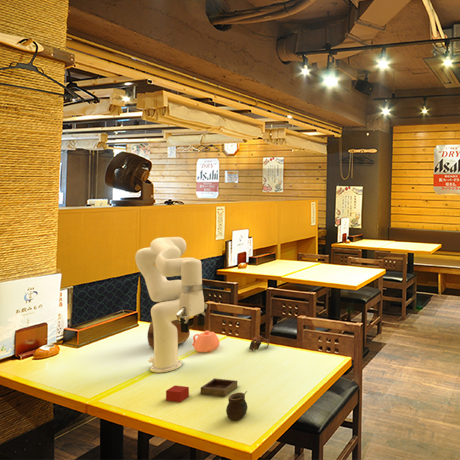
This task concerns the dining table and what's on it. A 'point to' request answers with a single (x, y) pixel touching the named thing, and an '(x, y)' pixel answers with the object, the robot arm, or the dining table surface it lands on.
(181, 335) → the ceramic pitcher
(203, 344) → the sugar bowl
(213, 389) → the brown shallow rectangular box
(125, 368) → the dining table surface
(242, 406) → the mate gourd
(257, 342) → the pottery mug
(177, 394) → the red block
